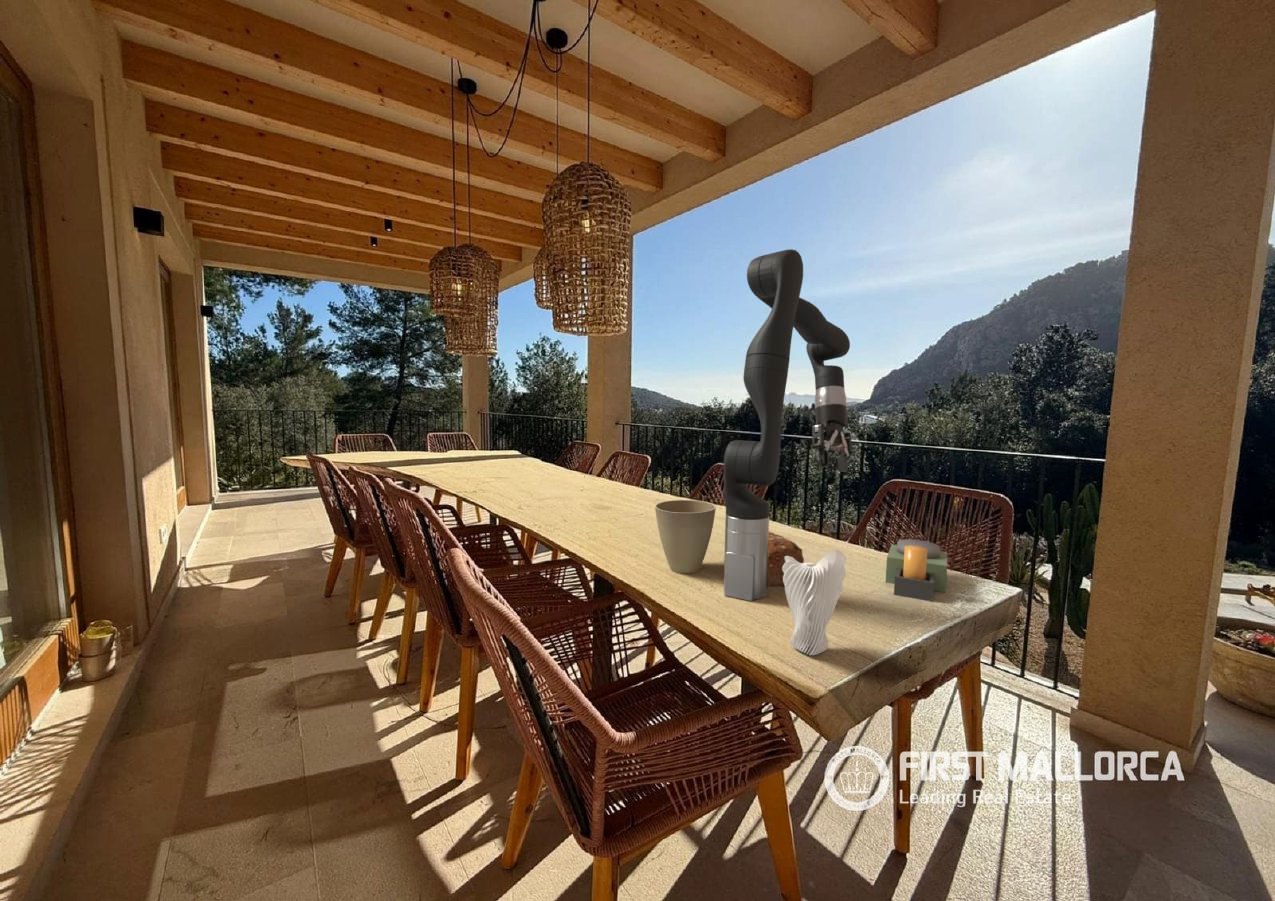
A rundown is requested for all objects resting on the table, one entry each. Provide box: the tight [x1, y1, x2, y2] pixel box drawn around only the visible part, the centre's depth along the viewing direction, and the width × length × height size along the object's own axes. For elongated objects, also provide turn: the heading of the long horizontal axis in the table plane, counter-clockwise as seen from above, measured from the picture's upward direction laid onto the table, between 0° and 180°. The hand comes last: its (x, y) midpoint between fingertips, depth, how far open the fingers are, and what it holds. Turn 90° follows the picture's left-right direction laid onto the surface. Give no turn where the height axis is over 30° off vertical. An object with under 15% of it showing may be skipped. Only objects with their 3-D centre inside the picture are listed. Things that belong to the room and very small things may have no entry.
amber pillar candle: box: [903, 545, 927, 581], centre depth 115 cm, size 4×4×10 cm
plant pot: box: [654, 499, 717, 574], centre depth 129 cm, size 15×15×16 cm
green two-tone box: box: [885, 539, 948, 602], centre depth 120 cm, size 19×12×8 cm, turn 150°
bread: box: [767, 531, 805, 587], centre depth 127 cm, size 19×11×10 cm, turn 14°
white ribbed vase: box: [782, 548, 847, 656], centre depth 88 cm, size 8×8×18 cm
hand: (834, 469), depth 131 cm, fingers open, 8 cm apart
